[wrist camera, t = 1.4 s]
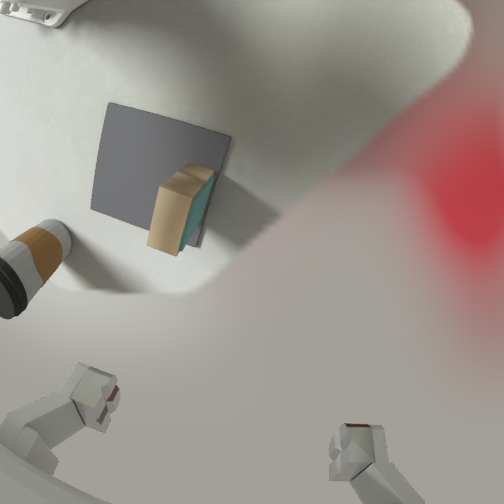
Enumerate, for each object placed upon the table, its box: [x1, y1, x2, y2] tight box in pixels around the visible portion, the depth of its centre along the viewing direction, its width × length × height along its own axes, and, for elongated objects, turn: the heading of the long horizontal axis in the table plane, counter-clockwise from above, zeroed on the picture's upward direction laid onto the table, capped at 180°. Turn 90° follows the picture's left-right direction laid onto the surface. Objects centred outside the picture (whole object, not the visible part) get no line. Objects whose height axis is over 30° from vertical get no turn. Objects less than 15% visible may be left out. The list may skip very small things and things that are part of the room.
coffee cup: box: [0, 219, 72, 319], centre depth 34 cm, size 8×8×15 cm
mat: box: [90, 103, 231, 247], centre depth 35 cm, size 15×14×1 cm
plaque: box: [147, 162, 215, 256], centre depth 31 cm, size 3×6×9 cm, turn 160°
